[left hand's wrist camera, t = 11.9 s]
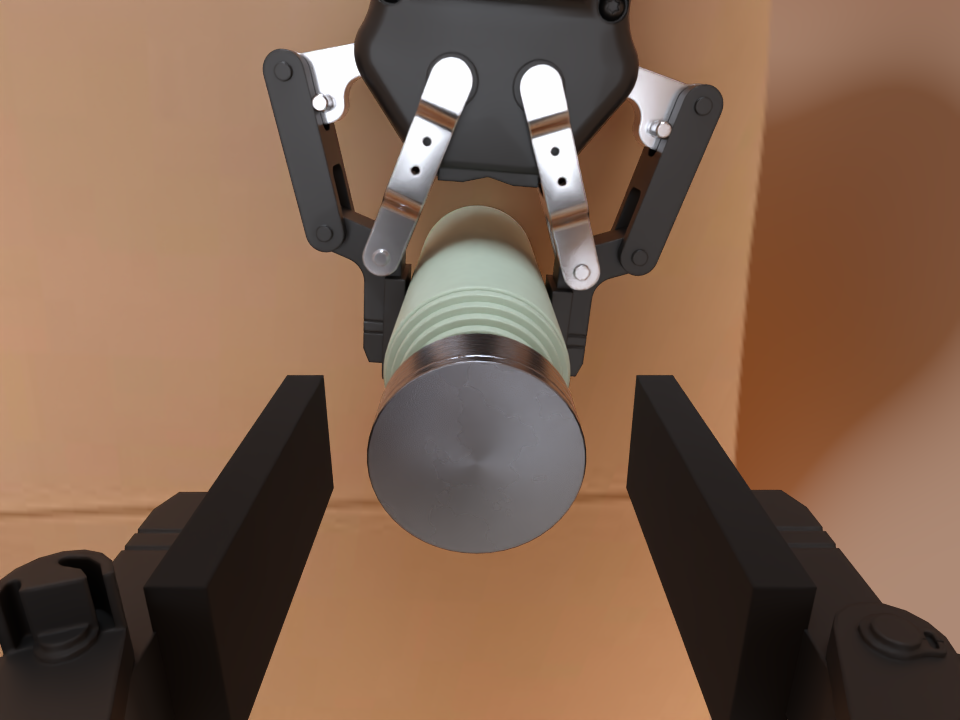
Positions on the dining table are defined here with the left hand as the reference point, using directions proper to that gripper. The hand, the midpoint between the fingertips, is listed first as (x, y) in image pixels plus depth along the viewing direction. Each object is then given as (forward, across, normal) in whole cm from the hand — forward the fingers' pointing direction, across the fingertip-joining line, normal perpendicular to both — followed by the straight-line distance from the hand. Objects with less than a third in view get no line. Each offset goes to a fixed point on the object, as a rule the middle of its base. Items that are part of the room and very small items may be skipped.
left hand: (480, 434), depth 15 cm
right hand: (+10, 0, -3) cm, 10 cm away
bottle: (+16, 0, 0) cm, 16 cm away
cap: (-1, 0, 0) cm, 1 cm away
